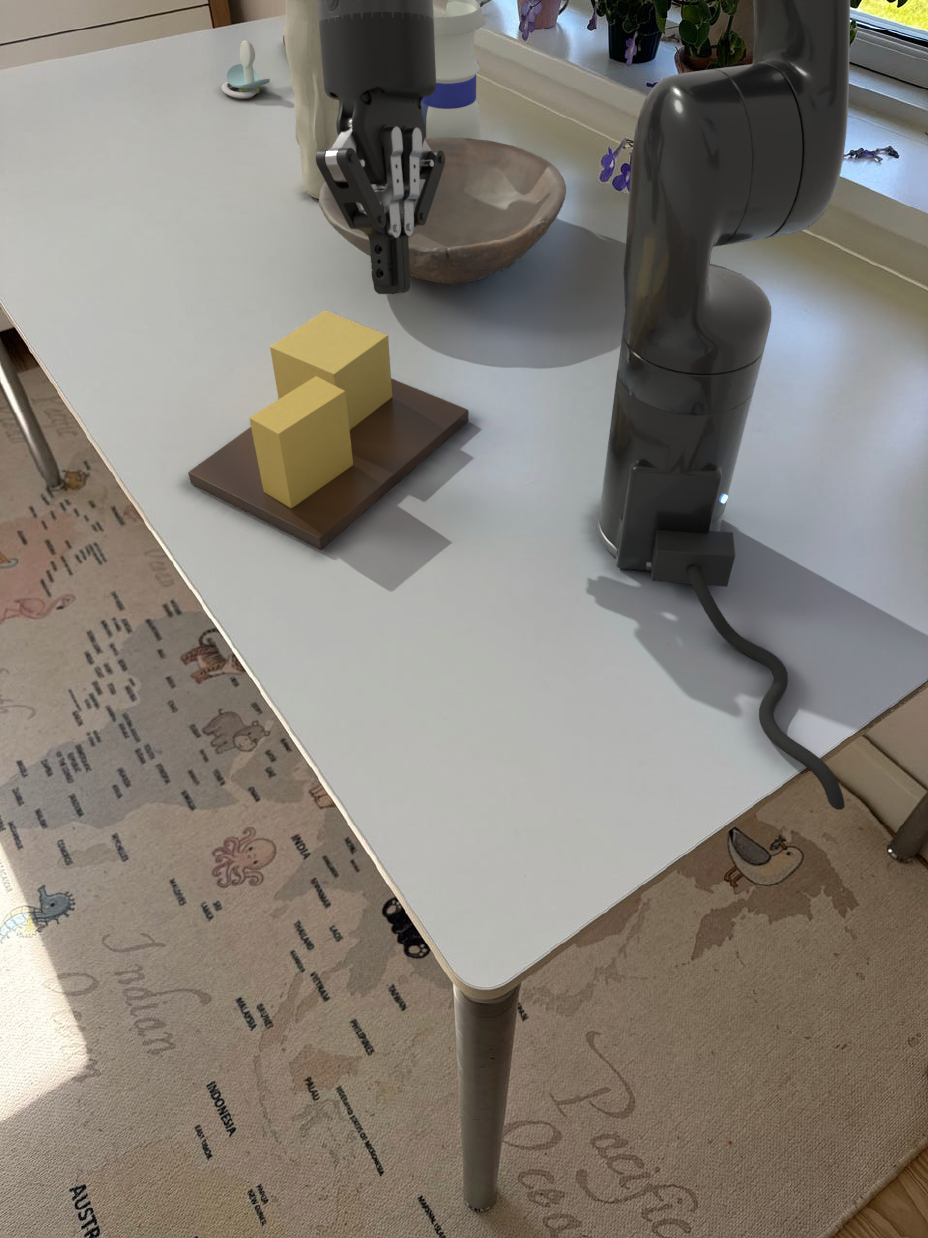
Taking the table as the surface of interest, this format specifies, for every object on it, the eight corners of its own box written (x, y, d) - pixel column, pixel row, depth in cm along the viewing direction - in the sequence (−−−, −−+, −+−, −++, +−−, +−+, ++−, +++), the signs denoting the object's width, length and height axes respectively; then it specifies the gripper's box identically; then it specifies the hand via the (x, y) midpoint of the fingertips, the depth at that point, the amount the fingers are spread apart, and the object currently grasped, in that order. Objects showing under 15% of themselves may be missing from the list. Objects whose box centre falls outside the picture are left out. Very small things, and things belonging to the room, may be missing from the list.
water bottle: (401, 180, 121) (389, -65, 102) (466, 168, 123) (466, -74, 105) (426, 209, 116) (418, -44, 97) (494, 195, 118) (499, -54, 100)
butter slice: (325, 449, 84) (316, 375, 78) (353, 465, 82) (345, 390, 77) (263, 492, 80) (248, 417, 75) (291, 508, 78) (278, 433, 73)
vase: (351, 168, 123) (326, -132, 101) (385, 194, 118) (367, -115, 96) (288, 185, 120) (247, -121, 98) (320, 213, 115) (286, -103, 93)
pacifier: (237, 105, 137) (276, 94, 139) (228, 56, 132) (268, 45, 135) (214, 89, 141) (252, 78, 143) (204, 40, 136) (243, 30, 139)
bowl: (496, 193, 118) (498, 118, 112) (605, 292, 103) (614, 210, 97) (295, 237, 111) (284, 158, 105) (379, 349, 96) (373, 265, 90)
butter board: (345, 369, 94) (344, 358, 93) (468, 420, 88) (468, 409, 87) (190, 483, 82) (187, 472, 82) (321, 550, 77) (319, 538, 76)
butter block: (331, 371, 91) (324, 309, 87) (392, 397, 89) (388, 334, 84) (279, 408, 87) (269, 346, 83) (341, 436, 85) (334, 373, 80)
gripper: (365, -5, 59) (384, 304, 66) (475, 20, 69) (482, 285, 76) (265, 10, 62) (293, 301, 69) (385, 32, 73) (399, 283, 80)
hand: (392, 292), depth 73 cm, fingers closed
